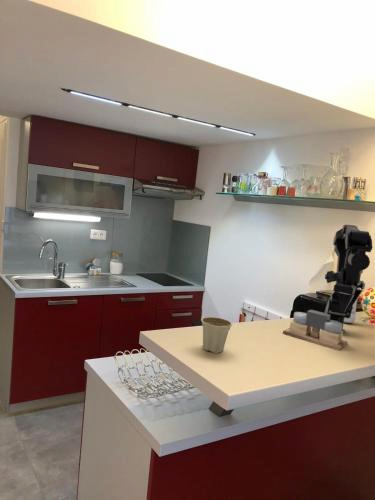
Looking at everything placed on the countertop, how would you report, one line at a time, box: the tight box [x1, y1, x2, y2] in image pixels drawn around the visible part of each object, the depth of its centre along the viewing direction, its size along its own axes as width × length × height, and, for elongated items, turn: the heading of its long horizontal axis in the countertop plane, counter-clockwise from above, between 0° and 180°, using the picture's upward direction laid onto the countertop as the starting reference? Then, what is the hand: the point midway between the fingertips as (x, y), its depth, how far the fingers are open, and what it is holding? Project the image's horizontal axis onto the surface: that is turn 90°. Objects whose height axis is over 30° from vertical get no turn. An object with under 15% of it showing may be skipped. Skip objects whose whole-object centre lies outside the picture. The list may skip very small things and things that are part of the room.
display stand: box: [282, 320, 348, 351], centre depth 146 cm, size 10×20×4 cm, turn 55°
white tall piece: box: [344, 288, 361, 324], centre depth 173 cm, size 6×7×20 cm
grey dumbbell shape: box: [292, 309, 344, 334], centre depth 145 cm, size 6×17×5 cm, turn 55°
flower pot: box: [200, 316, 233, 353], centre depth 123 cm, size 9×9×9 cm
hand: (345, 310), depth 143 cm, fingers open, 9 cm apart
